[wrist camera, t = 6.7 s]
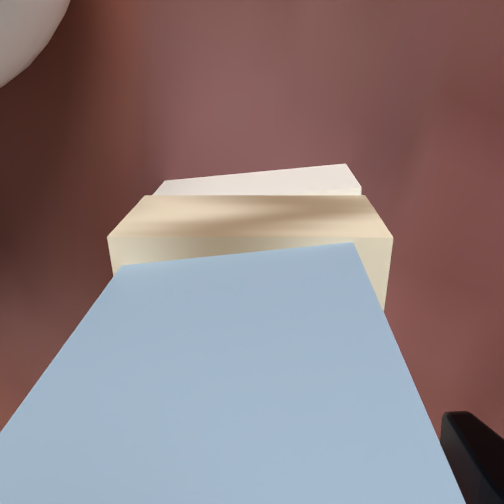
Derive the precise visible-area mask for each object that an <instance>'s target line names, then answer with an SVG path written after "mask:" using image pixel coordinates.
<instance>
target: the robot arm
mask: <svg viewBox="0 0 504 504" xmlns="http://www.w3.org/2000/svg"><path fill="white" fill-rule="evenodd" d="M440 445H441V447H442V449H443V452H444V454H445V456H446V459H447V461H448V463H449V465H450V468H451V470H452V472H453V475H454V477H455V479H456V482H457V484H458V486H459V489H460V491H461V493H462V496H463V498H464V500H465V503H466V504H504V439H503V438H502V437H500V436H499V435H498V434H497V433H495V432H494V431H493V430H492V429H490V428H489V427H488V426H487V425H485V424H484V423H483V422H482V421H480V420H479V419H478V418H477V417H475V416H474V415H473V414H471V413H470V412H467V411H454V412H446V413H444V414H443V417H442V425H441V437H440Z"/></svg>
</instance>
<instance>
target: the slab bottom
mask: <svg viewBox="0 0 504 504" xmlns="http://www.w3.org/2000/svg"><path fill="white" fill-rule="evenodd" d="M153 195H361V186H360V184H359V183H358V181H357V180H356V178H355V177H354V175H353V174H352V172H351V171H350V169H349V168H348V167H347V165H346V164H337V165H326V166H316V167H305V168H295V169H284V170H274V171H263V172H253V173H242V174H231V175H221V176H210V177H200V178H189V179H179V180H168V181H164V182H163V183H162V185H161V186H160V187H159V188H158V189H157V190H156V192H155V193H154V194H153Z"/></svg>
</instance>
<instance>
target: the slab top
mask: <svg viewBox="0 0 504 504" xmlns="http://www.w3.org/2000/svg"><path fill="white" fill-rule="evenodd" d="M107 240H108V246H109V252H110V258H111V264H112V270H113V276H114V275H115V274H116V272H117V271H118V270H119V268H120V267H121V266H122V265H131V264H140V263H150V262H160V261H170V260H180V259H190V258H199V257H209V256H219V255H229V254H239V253H249V252H258V251H268V250H278V249H288V248H298V247H308V246H318V245H328V244H337V243H347V242H353V243H354V245H355V247H356V250H357V252H358V254H359V257H360V259H361V261H362V264H363V266H364V268H365V271H366V273H367V275H368V278H369V280H370V282H371V284H372V287H373V289H374V291H375V294H376V296H377V298H378V301H379V303H380V305H381V308H382V310H383V312H384V306H385V298H386V290H387V283H388V275H389V267H390V260H391V252H392V244H393V236H392V235H391V233H390V232H389V230H388V229H387V227H386V226H385V224H384V223H383V221H382V220H381V218H380V217H379V215H378V214H377V212H376V211H375V209H374V208H373V206H372V205H371V203H370V202H369V200H368V199H367V197H366V196H365V195H145V196H144V197H143V198H142V199H141V200H140V201H139V202H138V204H137V205H136V206H135V207H134V208H133V209H132V210H131V211H130V212H129V213H128V214H127V215H126V217H125V218H124V219H123V220H122V221H121V222H120V223H119V224H118V225H117V226H116V227H115V229H114V230H113V231H112V232H111V233H110V234H109V235H108V236H107Z"/></svg>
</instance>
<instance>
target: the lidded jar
mask: <svg viewBox="0 0 504 504" xmlns="http://www.w3.org/2000/svg"><path fill="white" fill-rule="evenodd" d="M69 3H70V0H0V88H1V87H2V86H4V85H6V84H7V83H8V82H9V81H11V80H12V79H13V78H14V77H16V76H17V75H18V74H19V73H21V72H22V71H23V70H25V69H26V68H27V67H28V66H29V65H30V64H31V63H32V62H33V60H34V59H35V58H36V57H37V56H38V55H39V53H40V52H41V51H42V50H43V49H44V48H45V46H46V45H47V44H48V43H49V41H50V39H51V37H52V36H53V34H54V32H55V30H56V29H57V27H58V25H59V23H60V22H61V20H62V18H63V17H64V15H65V13H66V11H67V8H68V6H69Z"/></svg>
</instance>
